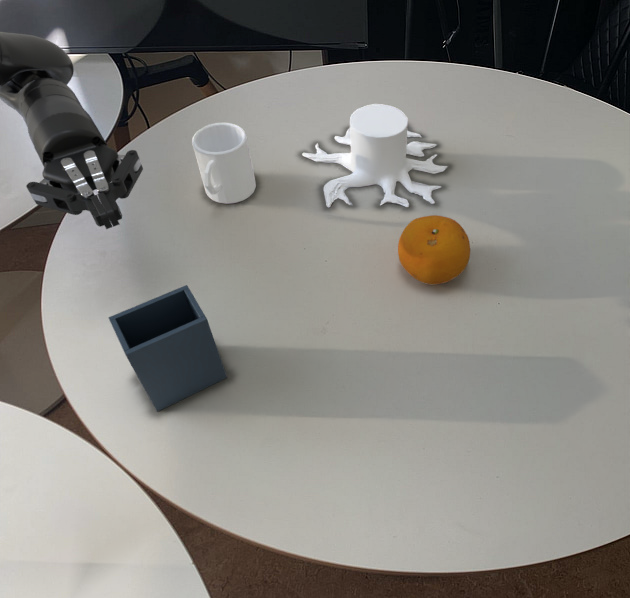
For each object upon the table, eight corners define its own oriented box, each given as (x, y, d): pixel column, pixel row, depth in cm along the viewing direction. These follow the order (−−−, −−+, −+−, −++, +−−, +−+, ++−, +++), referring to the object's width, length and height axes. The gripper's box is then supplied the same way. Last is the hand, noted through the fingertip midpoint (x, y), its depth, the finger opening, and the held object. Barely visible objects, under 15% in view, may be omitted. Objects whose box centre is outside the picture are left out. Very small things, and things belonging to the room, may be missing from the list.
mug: (190, 217, 94) (174, 166, 86) (214, 170, 102) (202, 119, 94) (241, 223, 94) (229, 172, 86) (261, 175, 101) (252, 124, 94)
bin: (140, 376, 75) (108, 317, 66) (208, 344, 79) (186, 284, 69) (157, 412, 72) (125, 355, 63) (227, 377, 76) (207, 319, 66)
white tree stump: (459, 204, 98) (466, 157, 91) (305, 214, 95) (300, 166, 88) (435, 124, 113) (439, 77, 105) (300, 130, 110) (296, 83, 102)
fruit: (387, 284, 86) (388, 244, 80) (409, 236, 93) (411, 196, 87) (457, 302, 85) (463, 264, 79) (474, 252, 91) (481, 213, 85)
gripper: (-6, 129, 69) (31, 217, 60) (110, 96, 74) (160, 173, 65) (23, 181, 75) (61, 268, 66) (130, 147, 79) (178, 224, 71)
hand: (110, 221), depth 65 cm, fingers closed
